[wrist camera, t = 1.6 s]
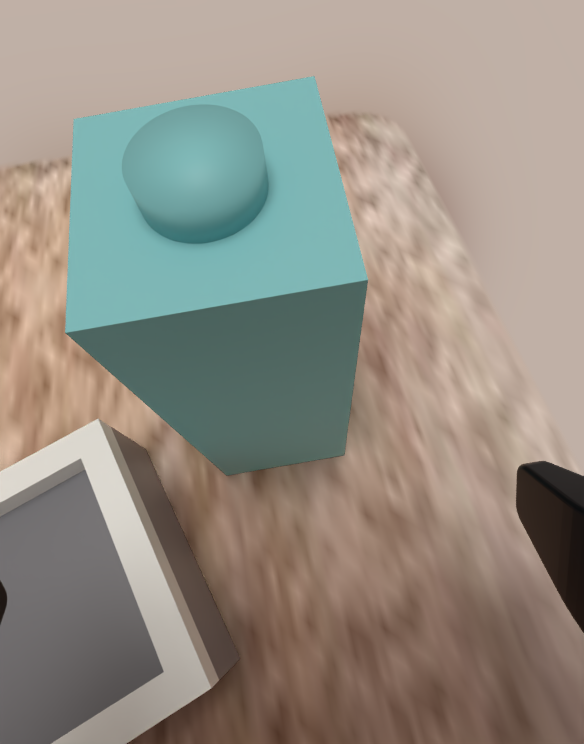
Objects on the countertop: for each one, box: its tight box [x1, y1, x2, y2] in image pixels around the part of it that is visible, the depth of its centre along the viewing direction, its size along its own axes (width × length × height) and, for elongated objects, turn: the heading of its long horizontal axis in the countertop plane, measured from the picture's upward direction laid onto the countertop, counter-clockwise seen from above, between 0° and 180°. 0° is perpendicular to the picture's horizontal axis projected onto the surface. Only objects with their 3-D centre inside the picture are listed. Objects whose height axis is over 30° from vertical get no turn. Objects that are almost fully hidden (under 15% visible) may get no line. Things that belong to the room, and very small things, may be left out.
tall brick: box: [65, 76, 368, 475], centre depth 14 cm, size 5×5×14 cm
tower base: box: [0, 419, 240, 744], centre depth 16 cm, size 9×9×4 cm
